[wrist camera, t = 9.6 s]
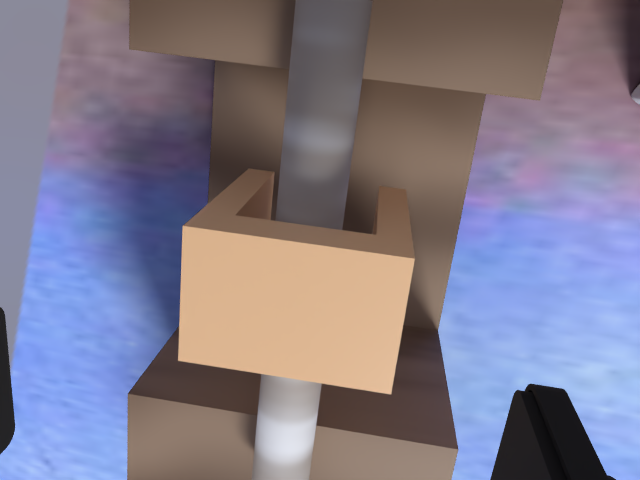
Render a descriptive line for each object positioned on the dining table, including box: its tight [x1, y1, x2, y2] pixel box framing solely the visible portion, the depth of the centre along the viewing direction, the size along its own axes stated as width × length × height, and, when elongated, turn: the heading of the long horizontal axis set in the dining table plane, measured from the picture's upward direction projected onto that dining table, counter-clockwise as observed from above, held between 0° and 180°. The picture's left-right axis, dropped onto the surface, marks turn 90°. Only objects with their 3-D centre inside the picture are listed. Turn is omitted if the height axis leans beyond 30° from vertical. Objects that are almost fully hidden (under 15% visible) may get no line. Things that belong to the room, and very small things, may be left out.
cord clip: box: [178, 169, 415, 394], centre depth 19 cm, size 4×6×8 cm, turn 84°
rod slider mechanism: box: [127, 0, 563, 480], centre depth 22 cm, size 26×12×12 cm, turn 173°
